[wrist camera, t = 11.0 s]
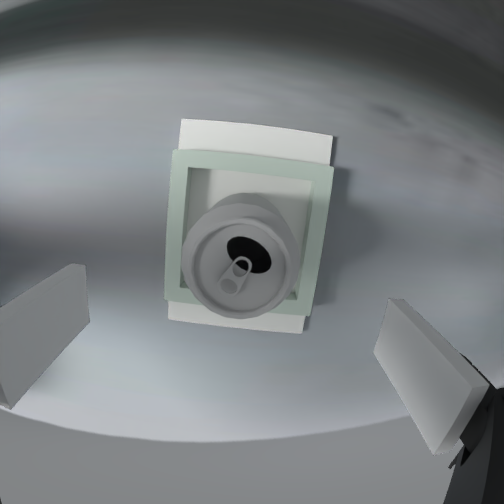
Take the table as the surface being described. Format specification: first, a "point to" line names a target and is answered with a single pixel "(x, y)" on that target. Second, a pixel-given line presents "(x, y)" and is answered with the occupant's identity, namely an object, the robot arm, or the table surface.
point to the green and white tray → (254, 182)
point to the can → (241, 257)
